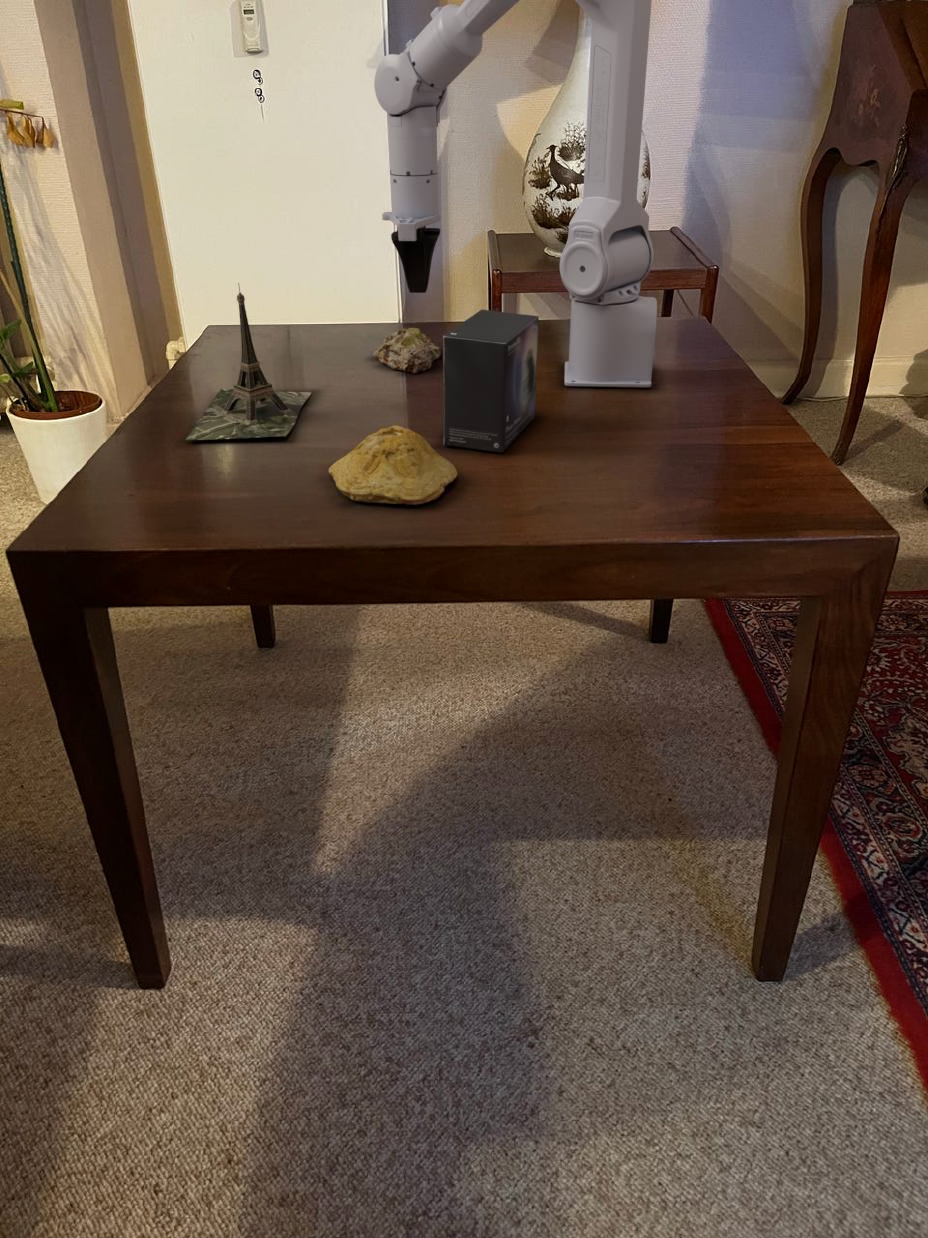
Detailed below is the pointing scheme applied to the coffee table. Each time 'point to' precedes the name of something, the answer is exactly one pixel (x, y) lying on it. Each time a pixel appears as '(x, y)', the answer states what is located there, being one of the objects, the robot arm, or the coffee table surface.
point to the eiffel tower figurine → (249, 401)
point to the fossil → (393, 469)
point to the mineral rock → (408, 350)
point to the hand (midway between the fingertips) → (418, 291)
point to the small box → (489, 379)
